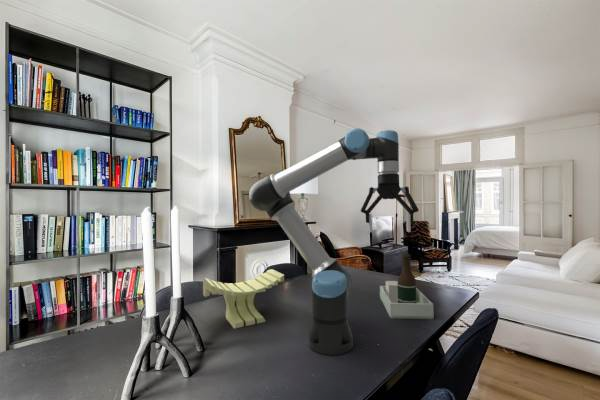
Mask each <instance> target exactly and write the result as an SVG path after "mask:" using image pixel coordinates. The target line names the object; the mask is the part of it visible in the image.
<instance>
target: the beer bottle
mask: <svg viewBox="0 0 600 400" xmlns="http://www.w3.org/2000/svg"><path fill="white" fill-rule="evenodd" d="M411 256H412V255H411V254H409V253H402V254H401V258H402V260H401V273H400V274H399V276H398V279H397V281H398V284H397V286H398V303H416V288H417V282H416V278H415V275H414V274H413V273H412V267H411V266H412V265H411Z"/></svg>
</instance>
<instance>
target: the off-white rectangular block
mask: <svg viewBox="0 0 600 400" xmlns="http://www.w3.org/2000/svg"><path fill="white" fill-rule="evenodd" d="M397 284H398V280H397V281H396V280H385V286H386V294H387V296H388V297H389V299H390V301H391V302H392V303H398V286H397Z"/></svg>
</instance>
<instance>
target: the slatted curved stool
mask: <svg viewBox="0 0 600 400" xmlns="http://www.w3.org/2000/svg"><path fill="white" fill-rule="evenodd" d="M282 282H283V283H284V282H285V274H284V273H281V272H279V271H277V270H275V269H273V268H272V269H268V270H266V272H263V273H261V274H260V275H257V276H255V277H254V278H251V279H249V280H245V281H240V282H235V283H228V282H224V283H223V282H221V281H215V280H213V279H209V278H206V277H204V278H203V279H202V295H203V297H205V298H206V297H209V296H210V295H212V296H213V295H219V296H220V295H221V296H223V298H224V300H225V306H226V310H225V319H226V320H227V322H228V323H229V324H230V326H231V327H232V328H233V329H235V330H236V329H238V328H242V327H243V328H244V327H247V326H253V325H255V324H261V323H265V322H266V320H265V318H264V316H263V315H261V313H260V312H259V311H258V310H257V309H256V306H255V304H254V299H255V297H256V296H255V295H256V294H258V293H263V292H266V291H267V290H266V289H272V288H273V287H274V286H278V285H279V283H282Z"/></svg>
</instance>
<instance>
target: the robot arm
mask: <svg viewBox="0 0 600 400" xmlns="http://www.w3.org/2000/svg"><path fill="white" fill-rule="evenodd" d="M399 148H400V144H399V134H398V132H397V131H395V130H391V129H389V130H381V131H379V132H377V134H376V137H372V138H371V137H369V134H368V133H367V132H366V131H365V130H364V129H362V128H353V129H350V130H349V131H348V132H347V133H346V135H345V136H344V137H342V138H340V139H339V140H336V141H335V142H333V143H331V144H330V145H328V146H326V147H324V148H322V149H320V150H319V151H317V152H315V153H313V154H311V155H309V156H307V157H306V158H304V159H302V160H300V161H298V162H297V163H295V164H294V165H291V166H290V167H288V168H286V169H283V170H281V171H280V172H279V173H277V174H275V173H270V174H269V175H267V176H266V177H263V178H261V179H260V180H258V181H256V182H255V183H253V185H251V188H250V189H249V193H248V198H249V202H250V205H251V206H252V207H253V208H255V209H256V210H258V211H260V212H266V214H267V215H268V217H269V219H270V220H271V221H276V222H277V223H278V224H279V226H280V227H281V228H282V230H283V231H284V234H286V236H287V237H288V239H289V240H290V241H291V243H292V244H293V246H294V247H295V249H296V250H297V251H298V252H299V254H300V256H301V257H302V258H303V260H304V261H305V262H306V264H307V265H308V267H309V268H310V269H311V278H312V281H311V291H312V323H311V325H310V329H309V333H308V335H307V344H308V347H309V348H310V349H311V350H312V351H314V352H316V353H318V354H322V355H327V356H330V355H331V356H337V355H342V354H346V353H348V352H350V351H351V350H352V349H353V348H354V337H353V334H352V331H351V327H350V325H349V322H348V297H349V294H350V292H351V289H352V286H353V279H352V276H351V274H350V272H349V271H348V269H346V268H345V267H343V266H342V265H341V263H339V261H338V259H336V258H333V257H330V255H329V254H328V252H327V251H326V250H325V248H323V246H322V245H321V243H320V241H318V239H317V238H316V236H315V235H314V234H313V232H312V231H311V229H310V228H309V227H308V226H307V224H306V222H305V221H304V220H303V218H302V217H301V215H300V214H299V213H298V211H297V210H296V208H295V206H296V202H295V201H294V200H293V198H292V197H291V192H292V191H293V190H296V189H298V188H299V187H301V186H303V185H304V184H306V183H309V182H310V181H312V180H314V179H316V178H318V177H319V176H321V175H323V174H326V173H328V172H329V171H330V170H332V169H335V168H337V167H338V166H340V165H341V164H343V163H345V162H347V161H349V160H353V161H356V160H366V159H367V160H368V159H377V162H376V163H377V174H378V175H377V187H372V186H371V187H369V188H368V195H367V196H366V198H365V200H364V202H363V205H362V207H361V208H360V213H362V214H365V222H366V224H368V232H369V233H373V223H372V221H373V219H372V218H373V217H372V213H371V212H372V211H373V209H374V208H375V207H376V206H377V205H378V204H379V203H380V201H382V200H394V199H395V200H396V201H397V202H398V203H399V204H400V205H401V207H402V208H403V209H405V211H406V212H407V213H406V214H405V215H406V219H405V222H406V232H408V233H411V223H414V214H415V213H418V212H419V210H420V209H419V208H418V206H417V203H416V202H415V201H414V199H413V197H412V195H411V193H410V188H409V186H404V187H403V186H402V187H401V186H400V174H398V173H399V172H400V160H399V158H400V157H399V156H400V153H399ZM376 192H377V194H378V196H377V197H376V198H375V199H374V201H372V203H371V204H370V206H369V207H368V205H369V202H370V201H371V199H372V197H373V194H375V193H376ZM400 192H402V193H403V194H404V196H405V198H406V200H407V202H408V204H407V202H405V200H404V199H403V198H402V196H401V195H400V194H399V193H400ZM409 205H410V206H409ZM367 207H368V208H367Z"/></svg>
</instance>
